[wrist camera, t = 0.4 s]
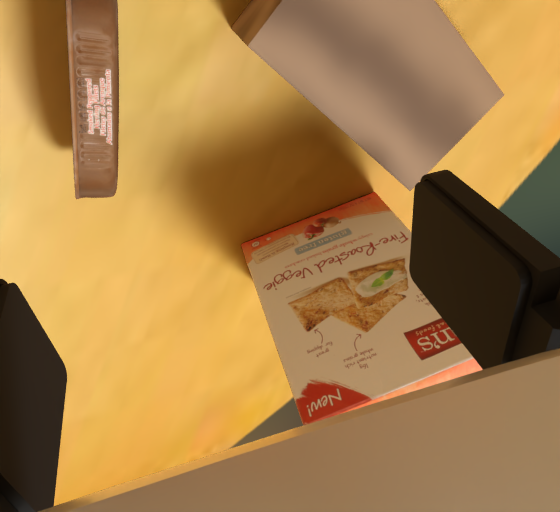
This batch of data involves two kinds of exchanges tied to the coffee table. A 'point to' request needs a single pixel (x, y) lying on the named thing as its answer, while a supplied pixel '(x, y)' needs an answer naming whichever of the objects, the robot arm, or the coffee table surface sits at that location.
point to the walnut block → (377, 73)
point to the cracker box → (350, 310)
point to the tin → (94, 95)
